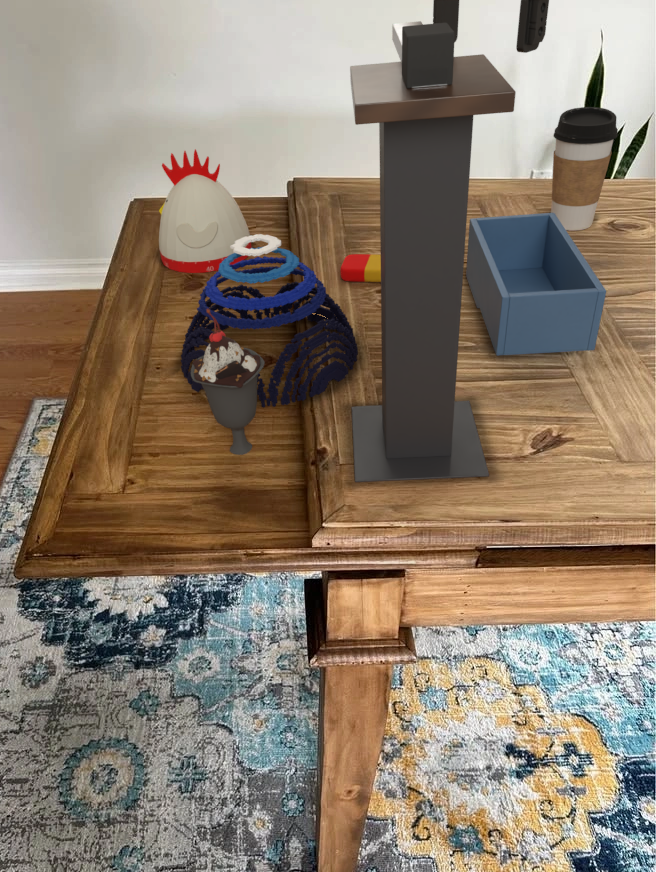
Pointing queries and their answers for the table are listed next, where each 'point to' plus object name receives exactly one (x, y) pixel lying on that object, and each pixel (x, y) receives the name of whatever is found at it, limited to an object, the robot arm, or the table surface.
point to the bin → (532, 285)
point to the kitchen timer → (198, 219)
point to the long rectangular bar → (425, 53)
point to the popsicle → (361, 268)
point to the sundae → (229, 384)
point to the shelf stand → (422, 268)
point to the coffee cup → (581, 164)
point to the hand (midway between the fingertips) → (484, 47)
